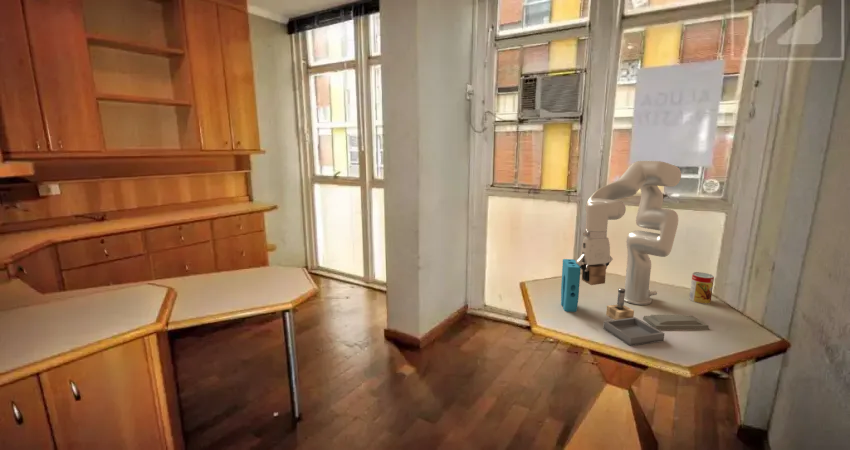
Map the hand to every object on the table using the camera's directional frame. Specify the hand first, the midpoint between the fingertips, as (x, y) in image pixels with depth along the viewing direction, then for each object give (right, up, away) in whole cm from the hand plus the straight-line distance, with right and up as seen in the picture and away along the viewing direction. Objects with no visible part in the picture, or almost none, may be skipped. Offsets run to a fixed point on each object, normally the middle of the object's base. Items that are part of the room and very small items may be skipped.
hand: (593, 278), depth 154 cm
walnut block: (0, -1, 0) cm, 1 cm away
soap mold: (+32, -18, 0) cm, 37 cm away
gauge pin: (+13, -16, +6) cm, 22 cm away
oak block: (+13, -16, +6) cm, 22 cm away
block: (-4, -15, +16) cm, 22 cm away
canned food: (+57, -13, +23) cm, 63 cm away
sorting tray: (+11, -19, -8) cm, 24 cm away
